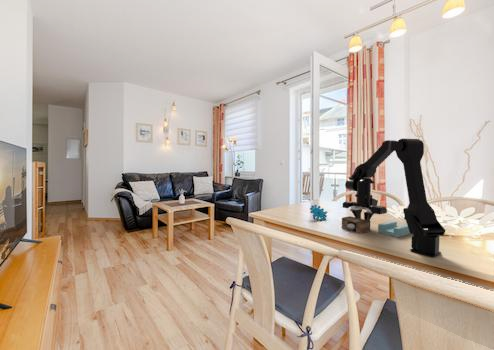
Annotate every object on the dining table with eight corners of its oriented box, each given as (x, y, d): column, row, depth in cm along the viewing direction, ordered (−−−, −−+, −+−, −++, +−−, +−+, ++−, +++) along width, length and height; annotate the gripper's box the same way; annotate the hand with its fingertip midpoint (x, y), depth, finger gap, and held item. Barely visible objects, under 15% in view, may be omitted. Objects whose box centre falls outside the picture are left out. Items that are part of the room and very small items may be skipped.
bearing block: (370, 230, 100) (370, 220, 100) (362, 233, 97) (362, 222, 97) (349, 225, 109) (349, 216, 109) (341, 227, 106) (341, 217, 106)
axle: (362, 226, 108) (362, 220, 108) (368, 227, 105) (368, 221, 105) (346, 229, 102) (346, 223, 102) (352, 231, 99) (352, 224, 99)
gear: (314, 218, 116) (308, 203, 123) (309, 224, 120) (303, 209, 127) (332, 220, 120) (325, 204, 126) (325, 225, 124) (319, 210, 130)
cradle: (412, 232, 97) (412, 225, 97) (397, 237, 91) (398, 228, 91) (392, 228, 104) (392, 221, 104) (377, 232, 98) (378, 224, 98)
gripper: (394, 193, 101) (392, 227, 102) (355, 189, 117) (355, 219, 118) (380, 195, 95) (379, 231, 96) (342, 190, 112) (341, 221, 112)
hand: (362, 225), depth 106 cm, fingers closed on axle, 3 cm apart
